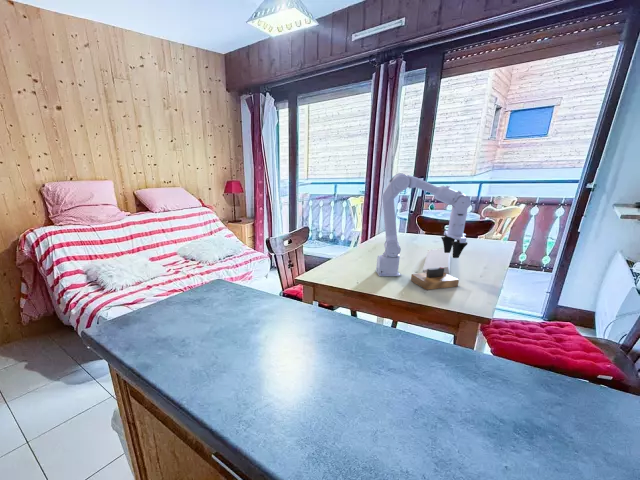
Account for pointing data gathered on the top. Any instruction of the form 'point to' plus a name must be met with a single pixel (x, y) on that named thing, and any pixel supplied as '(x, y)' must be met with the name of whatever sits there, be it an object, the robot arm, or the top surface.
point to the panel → (434, 281)
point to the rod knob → (435, 272)
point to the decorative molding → (437, 260)
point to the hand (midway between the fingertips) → (451, 255)
